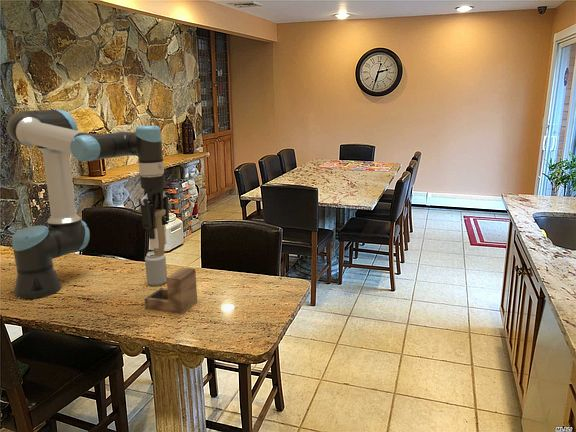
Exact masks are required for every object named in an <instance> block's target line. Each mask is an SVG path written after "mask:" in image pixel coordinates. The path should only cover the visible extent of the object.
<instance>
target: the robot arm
mask: <svg viewBox="0 0 576 432" xmlns="http://www.w3.org/2000/svg"><path fill="white" fill-rule="evenodd" d="M6 130H7V134H8V135H9V137H10V138H11V140H13V142H16V143H17V144H19V145H23V146H26V147H35V146H36V147H37V149H38V150H39V152H42V157H43V163H44V164H43V165H44V171H45V180H46V187H47V194H48V203H49V210H50V217H49V218H48V219H47V226H46V225H41V224H40V225H33V226H28V227H25V228H22V229H20V230H18V231H16V232H15V233H13V236H12V239H11V240H12V241H11V243H12V244H11V245H12V250H13V255H14V261H15V268H16V273H17V275H16V282H15V286H14V289H13V291H14V296H15V295H16V296H17V297H16V296H15V297H16V298H18V297H20V298H19V299H21V298H34V299H37V298H36V297H40V298H43V296H45V297H48V296H50V294H51V295H53V294H55V293H58V292H59V291H60V290H61V289H62V283H61V280H60V278H59V276H58V274H57V272H56V270H55V269H54V264H53V260H54V259H57V258H60V257H63V256H66V255H70V254H75V253H77V252H79V251H81V250H83V249H85V248H86V247H87V246H88V244H89V243H90V236H91V235H90V234H91V233H90V229H89V227H88V225H87V223H86V222H85V221H83V220H82V217H81V216H79V215H78V214H77V211H76V210H77V208H76V204H75V202H76V201H75V194H74V186H73V178H72V170H71V161H70V159H71V158H70V155H72V156H73V158H75V159H76V161H78V162H92V161H98V160H104V159H110V158H121V157H126V156H127V157H128V156H130V157H133V156H134V157H138V158H137V159H138V162H137V163H138V172H139V173H138V174H139V176H140V177H139V180H140V188H141V189H143V190H144V192H143V197H142V198H139V199H138V203H139V206H140V213H141V221H142V227H143V229H146V230H147V231H148V239H149V246H150V247H149V248H150V249H153V248H157V249H158V248H159V243H158V232H157V228H155V220H156V217H155V212H156V209H160V210H162V209H164V210H166V214H165V215H164V216H162V226H163V232H164V240H165V245H167V243H168V241H167V230H166V229H167V228H166V227H167V225H169V221H170V209H169V193H170V192H169V191H165V190H164V188H165V186H166V178H165V177H166V176H165V175H164V173H165V168H164V153H163V138H162V133H161V128H160V127H159V126H158V125H138V126H136V127H135V129H134V130H135V131H133V132H132V131H114V132H110V133H109V132H108V133H89V132H84V131H80V130H78V124H77V122H76V120H75V118H74V117H73V116H72V115H71V113H70V112H68V111H67V110H65V109H63V110H62V109H54V108H53V109H40V110H37V109H36V110H22V111H18V112H16V113H14V114H13V115H12V116H11V117H10V118H9V120H8V122H7V125H6ZM47 295H48V296H47Z"/></svg>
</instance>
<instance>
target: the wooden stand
mask: <svg viewBox="0 0 576 432" xmlns="http://www.w3.org/2000/svg"><path fill="white" fill-rule="evenodd" d="M166 279H167V281H166V287H160V288H159V289H157V290H155V291H154V292H153V293H151V294H150V295H148V296H147V297H145V298H144V305H145V310H151V311H159V312H167V313H174V314H181V315H183V314H185V312H187V311H188V310H189V309H191V308H192V307H193V306H194V305H196V303H198V292H197V291H198V289H197V274H196V268H189V267H183V266H182V267H181V268H179V269H178V270H176V271H175V272H173V273H171V274H170V275H167V278H166Z"/></svg>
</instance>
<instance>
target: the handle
mask: <svg viewBox="0 0 576 432" xmlns="http://www.w3.org/2000/svg"><path fill="white" fill-rule="evenodd" d="M165 214H166V210H164V209H162V210H160V209H156V212H155V217H156V220H155V228H157V232H158V243H159V248H158V249H157V248H152V249H153V251H154V254H155V255H156V256H162V255H165V246H166V244H165V240H164V232H163V226H162V216H164V215H165Z"/></svg>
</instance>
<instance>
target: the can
mask: <svg viewBox="0 0 576 432" xmlns="http://www.w3.org/2000/svg"><path fill="white" fill-rule="evenodd" d="M144 262H145V275H146V283H147V284H149V285H150V286H152V287H158V286H162V285H164V284H166V283H167V279H166V278H167V277H168V269H167V259H166V255H165V254H164V255H162V256H156V255H155V254H154V250H153V251H149V252H147V253H146V256H145V257H144Z"/></svg>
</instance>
